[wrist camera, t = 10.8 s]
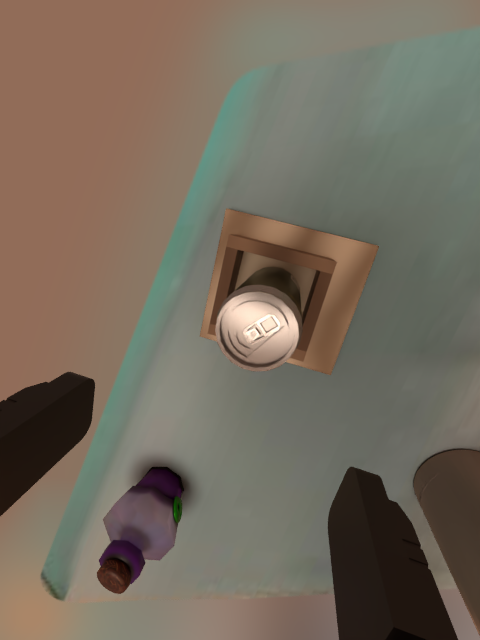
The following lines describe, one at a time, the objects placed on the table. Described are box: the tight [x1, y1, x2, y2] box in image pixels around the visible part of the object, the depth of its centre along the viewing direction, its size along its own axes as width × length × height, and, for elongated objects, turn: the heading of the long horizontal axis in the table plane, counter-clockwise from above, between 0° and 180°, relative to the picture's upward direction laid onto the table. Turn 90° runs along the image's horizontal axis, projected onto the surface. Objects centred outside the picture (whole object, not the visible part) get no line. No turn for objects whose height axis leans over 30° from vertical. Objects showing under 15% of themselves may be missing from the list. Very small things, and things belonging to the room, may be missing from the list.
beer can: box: [215, 267, 303, 371], centre depth 23 cm, size 5×5×12 cm
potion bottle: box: [97, 467, 184, 594], centre depth 34 cm, size 9×9×12 cm
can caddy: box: [200, 209, 379, 375], centre depth 27 cm, size 14×13×5 cm
